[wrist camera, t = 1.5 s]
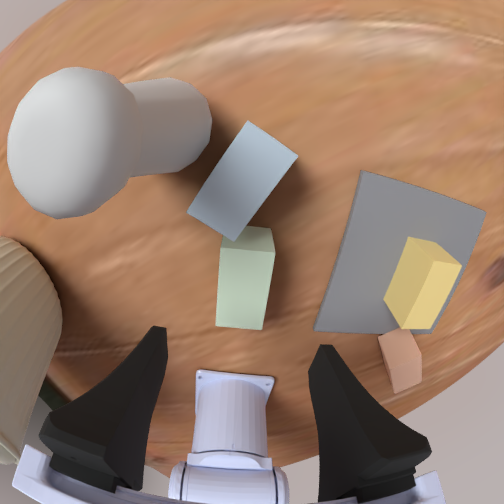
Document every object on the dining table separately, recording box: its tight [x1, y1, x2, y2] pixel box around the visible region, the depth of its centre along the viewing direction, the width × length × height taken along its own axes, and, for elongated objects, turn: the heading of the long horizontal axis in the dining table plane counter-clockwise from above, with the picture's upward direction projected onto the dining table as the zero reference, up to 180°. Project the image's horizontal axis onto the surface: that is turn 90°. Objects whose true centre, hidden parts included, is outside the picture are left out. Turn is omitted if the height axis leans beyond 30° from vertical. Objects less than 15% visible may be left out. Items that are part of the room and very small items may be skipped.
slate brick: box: [186, 121, 298, 242], centre depth 17 cm, size 6×3×4 cm, turn 145°
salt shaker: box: [7, 67, 212, 219], centre depth 11 cm, size 6×6×13 cm
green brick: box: [216, 226, 275, 330], centre depth 20 cm, size 6×3×4 cm, turn 173°
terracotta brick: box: [378, 327, 422, 394], centre depth 24 cm, size 6×3×4 cm, turn 28°
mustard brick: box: [383, 237, 462, 329], centre depth 19 cm, size 6×3×4 cm, turn 171°
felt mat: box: [313, 170, 486, 334], centre depth 21 cm, size 14×14×1 cm
